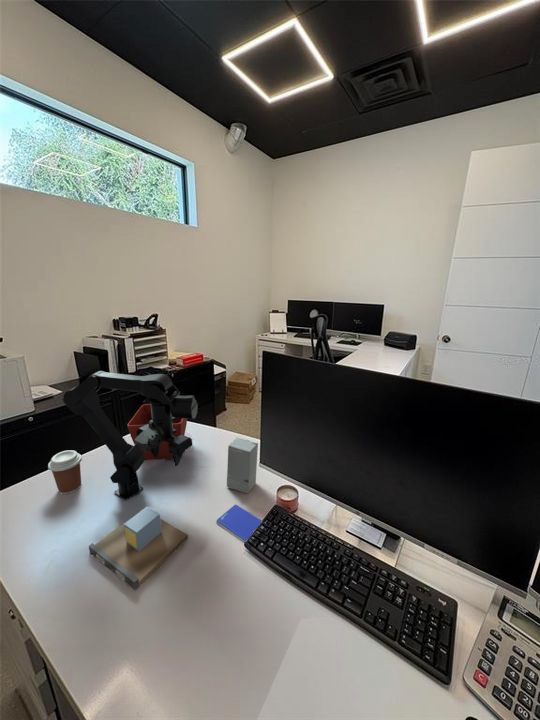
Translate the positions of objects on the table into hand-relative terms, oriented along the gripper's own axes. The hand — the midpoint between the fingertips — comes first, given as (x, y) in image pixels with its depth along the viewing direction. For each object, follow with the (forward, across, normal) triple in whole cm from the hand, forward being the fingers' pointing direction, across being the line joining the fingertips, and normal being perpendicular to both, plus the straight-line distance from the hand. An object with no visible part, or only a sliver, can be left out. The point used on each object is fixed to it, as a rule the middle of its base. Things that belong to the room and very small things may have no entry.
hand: (166, 461), depth 93 cm
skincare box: (+12, +18, +16) cm, 27 cm away
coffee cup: (+12, -30, -15) cm, 36 cm away
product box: (+10, +9, -16) cm, 21 cm away
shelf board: (+12, +9, -17) cm, 23 cm away
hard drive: (+13, +28, +2) cm, 30 cm away
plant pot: (+12, -21, +16) cm, 29 cm away
